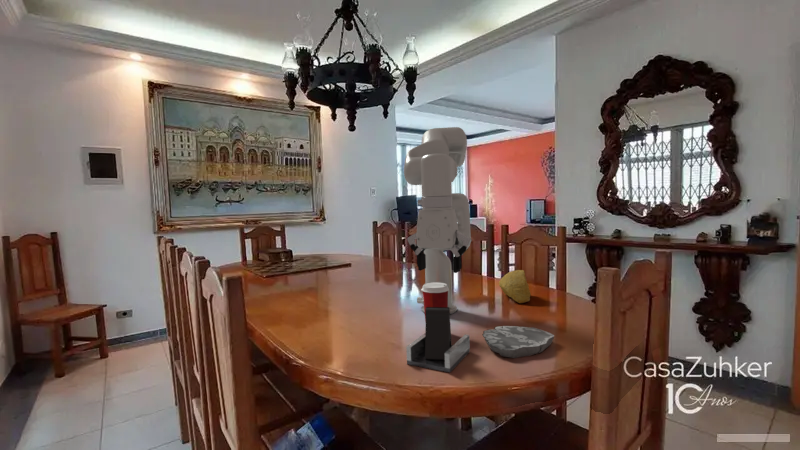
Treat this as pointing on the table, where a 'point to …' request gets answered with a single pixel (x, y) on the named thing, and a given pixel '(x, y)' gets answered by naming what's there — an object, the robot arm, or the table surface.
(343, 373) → the table surface
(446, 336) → the phone stand
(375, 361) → the table surface
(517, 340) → the brain slice
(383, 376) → the table surface
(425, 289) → the coffee cup
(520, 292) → the decorative stone
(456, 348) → the guide cradle
